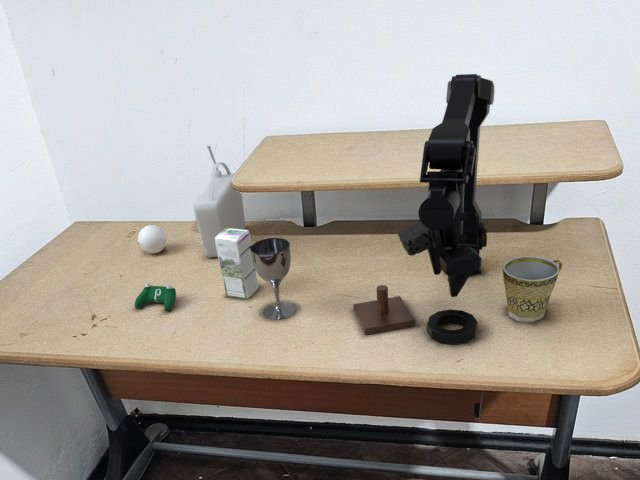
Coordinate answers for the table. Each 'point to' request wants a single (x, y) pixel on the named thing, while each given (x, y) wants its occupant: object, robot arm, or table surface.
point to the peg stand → (383, 313)
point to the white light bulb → (152, 239)
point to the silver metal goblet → (273, 272)
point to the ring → (452, 335)
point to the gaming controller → (156, 296)
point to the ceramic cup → (529, 286)
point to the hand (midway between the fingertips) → (445, 285)
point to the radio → (218, 208)
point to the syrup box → (236, 263)
